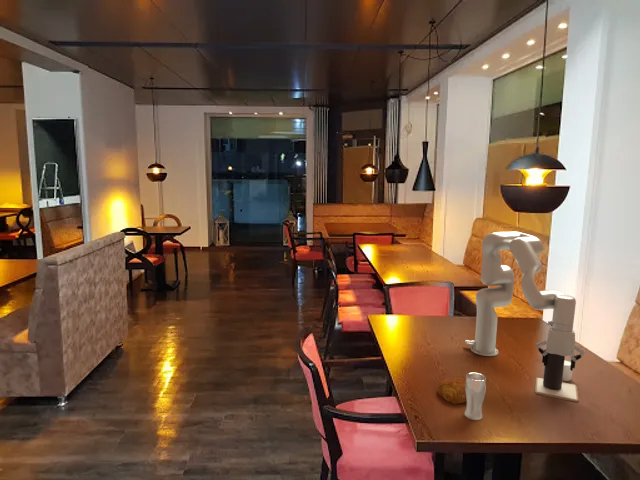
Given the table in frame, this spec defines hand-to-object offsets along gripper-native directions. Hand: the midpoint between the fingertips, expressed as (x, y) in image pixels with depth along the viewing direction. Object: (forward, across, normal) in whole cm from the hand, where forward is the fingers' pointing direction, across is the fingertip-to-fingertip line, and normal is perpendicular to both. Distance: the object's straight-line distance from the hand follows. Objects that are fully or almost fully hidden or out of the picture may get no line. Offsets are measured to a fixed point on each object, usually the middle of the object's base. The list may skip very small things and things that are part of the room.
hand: (557, 367), depth 189 cm
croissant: (+10, -35, -24) cm, 43 cm away
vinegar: (+9, -1, 0) cm, 9 cm away
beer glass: (+10, -27, -37) cm, 47 cm away
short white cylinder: (+10, +3, +14) cm, 17 cm away
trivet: (+10, 0, 0) cm, 10 cm away
